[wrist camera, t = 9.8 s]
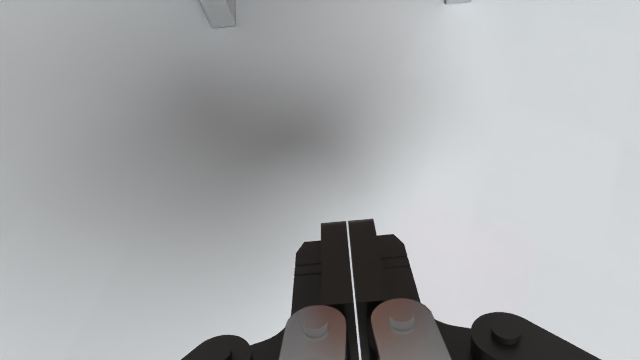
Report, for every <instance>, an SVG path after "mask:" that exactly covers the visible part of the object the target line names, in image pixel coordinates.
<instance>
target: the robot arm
mask: <svg viewBox="0 0 640 360" xmlns="http://www.w3.org/2000/svg"><path fill="white" fill-rule="evenodd" d="M348 225H349V236H350V247H351V257H352V268H353V279H354V289H355V299H356V309H357V318H358V328H359V338H360V348H361V358H362V360H601V359H599V358H597V357H595V356H593V355H591V354H589V353H588V352H586V351H584V350H582V349H580V348H578V347H576V346H575V345H573V344H571V343H569V342H567V341H565V340H563V339H561V338H560V337H558V336H556V335H554V334H552V333H550V332H548V331H547V330H545V329H543V328H541V327H539V326H537V325H535V324H533V323H532V322H530V321H528V320H526V319H524V318H522V317H520V316H517V315H514V314H510V313H504V312H494V313H488V314H485V315H482V316H480V317H479V318H477V319H476V320H475V321H474V323H473V324H472V327H471V329H470V328H464V327H457V326H452V325H448V324H444V323H442V322H439V321H437V320H435V319H434V317H433V315H432V313H431V311H430V310H429V309H428V308H427V307H426V306H425V305H423V304H422V303H421V302H420V299H419V295H418V292H417V288H416V285H415V281H414V278H413V274H412V271H411V268H410V264H409V260H408V258H407V253H406V250H405V246H404V244H403V243H402V242H401V241H400V240H399V239H398V238H397V237H396V236H395V235H394V234H391V235H379V236H377V235H376V230H375V225H374V220H373V219H364V220H353V221H348ZM294 276H295V278H294V286H293V299H292V311H291V317H290V318H289V319H288V321H287V323H286V326H285V328H284V329H283V330H282V331H281V332H280V333H278V334H277V335H275V336H274V337H272V338H270V339H267V340H265V341H262V342H259V343H256V344H253V345H249V344H248V342H247V341H246V340H244V339H243V338H241V337H239V336H235V335H221V336H217V337H213V338H211V339H208V340H206V341H205V342H203V343H201V344H200V345H199V346H197V347H196V348H195V349H194V350H192V351H191V352H190V353H189V354H187V355H186V356H185V357H184V358H183V359H181V360H359V354H358V344H357V333H356V323H355V312H354V302H353V291H352V280H351V270H350V259H349V249H348V238H347V228H346V221H341V222H330V223H321V241H311V242H304V243H303V245H302V246H301V247H300V249H299V250H298V251H297V253H296V262H295V274H294Z"/></svg>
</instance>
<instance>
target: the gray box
mask: <svg viewBox="0 0 640 360" xmlns="http://www.w3.org/2000/svg"><path fill="white" fill-rule="evenodd" d="M200 2H201V5H202V7H203V9H204V11H205V13H206V16H207V18H208V20H209V22H210V24H211V27H212V28H219V27H229V26H236V14H235V0H200ZM445 2H446V4H454V3H464V2H471V0H445Z"/></svg>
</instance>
